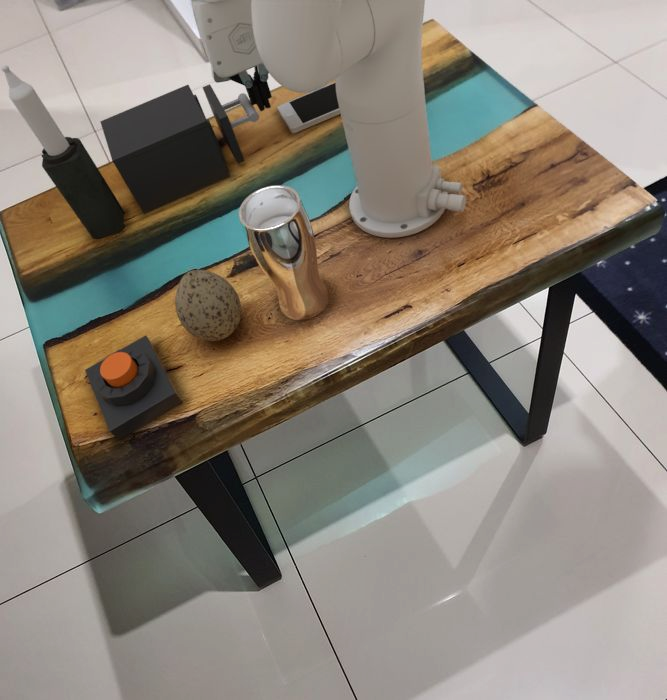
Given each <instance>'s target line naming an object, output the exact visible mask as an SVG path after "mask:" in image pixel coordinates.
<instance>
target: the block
mask: <svg viewBox="0 0 667 700" xmlns="http://www.w3.org/2000/svg"><path fill="white" fill-rule="evenodd" d="M117 352H124V353H127V354H128V355H129V356H130V357H131V358H132V359H133V361H134V362H135V363H136V364H137V366H138V373H137V376H136V377H135V378H134V380H133V381H132V382H131V383H129V384H127V385H126V386H124V387H120V388H115V387H112V386H111V385H109V383H108V382H107V381H106V380H105V379H104V378H103V377H102V375H101V373H100V367H101V365H102V363H103V361H104V360H105V359H106V358H107V357H108V356H110V355H112V354H114V353H117ZM84 371H85V374H86V376H87V379H88V382H89V385H90V387H91V389H92V391H93V393H94V397H95V399H96V401H97V404H98V406H99V409H100V411H101V414H102V417H103V418H104V419H103V420H104V421H105V424H106V425H107V428H108V431H109V432H110V433H111V435H112V436H114V437H115V438H116V439H117V440H118V441H121V440H123V439H124V438H126V437H127V436H130V435H131V434H133V433H134V432H136V431H138V430H139V429H141V428H143V427H144V426H146V425H148V424H149V423H152V422H153V421H154V420H156V419H158V418H160V417H162V416H163V415H164V414H166V413H167V412H170V411H172V410H173V409H174V408H176V407H179V406H180V405H182V404H183V403H184V402H183V399H182V397H181V396H180V394H179V392H178V390H177V388H176V386H175V384H174V382H173V380H172V378H171V377H170V374H169V372H168V370H167V368H166V367H165V365H164V363H163V361H162V359H161V357H160V354H159V353H158V351H157V349H156V347H155V345H154V344H153V342H152V341H151V339H150V338H149V337H148V335H144V336H142V337H140V338H139V339H137V340H135V341H132V342H131V343H129V344H128V345H126V346H124V347H122V348H120V349H118V350H116V351H114V352H112V353H111V354H109V355H107V356H106V357H104V358H103V359H101V360H100V361H97V362H96V363H94V364H92V365H91V366H89V367H88V368H86V369H85V370H84Z"/></svg>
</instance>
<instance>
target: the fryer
mask: <svg viewBox="0 0 667 700" xmlns="http://www.w3.org/2000/svg"><path fill="white" fill-rule="evenodd" d="M194 95H195V94H194V93H193V90H192V89H191V87H190V85H189V84H186V85H183V86H181V87H179V88H176V89H174V90H172V91H169V92H167V93H164V94H162V95H160V96H158V97H154V98H151V100H148V101H145V102H143V103H141V104H138V105H136V106H133V107H131V108H129V109H126V110H124V111H121V112H119V113H116V114H114V115H112V116H109V117H108V118H106V119H102V120H100V125H101V128H102V131H103V135H104V139H105V141H106V145H107V148H108V151H109V154H110V158H111V160H112V163H113V165H114V166H115V168H116V170H117V171H118V173H119V175H120V176H121V178H122V180H123V181H124V183H125V185H126V186H127V188H128V190H129V191H130V193H131V195H132V197H133V198H134V200H135V202H136V204H137V206H138V207H139V208H140V210H141V212H142V214H143V215H144V214H147V213H149V212H152V211H154V210H156V209H159V208H162V207H163V206H166V205H168V204H170V203H172V202H174V201H177V200H179V199H182V198H184V197H186V196H188V195H191V194H193V193H195V192H198V191H200V190H202V189H205V188H207V187H210V186H212V185H214V184H217V183H219V182H221V181H223V180H225V179H228V178H230V177H231V175H230V172H229V170H228V168H227V165H225V163H224V160H223V158H222V156H221V153H220V151H219V149H218V146H217V144H216V141H215V139H214V137H213V134H212V132H211V129H210V127H209V125H208V122H207V120H206V119H207V117H206V115H205V113H204V114H203V112H204V111H203V112H202V110H203V109H202V110H201V108H202V107H201V108H200V106H199V104H198V102H197V100H196V99H195V97H194ZM204 115H205V116H204ZM205 117H206V118H205Z"/></svg>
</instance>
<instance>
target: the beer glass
mask: <svg viewBox="0 0 667 700" xmlns="http://www.w3.org/2000/svg"><path fill="white" fill-rule="evenodd" d="M238 220H239V222H240V224H241V227H242V231H243V233H244V237H245V239H246V242H247V245H248V247H249V250H250V251H251V254H252V256H253V259H254V260H255V261H256V263H257V265H258V266H259V268H260V269H261V270H262V271H263V273H264V275H265V276H266V277H267V278H268V280H269V281H270V282H271V284H272V285H273V287H274V288H275V290H276V293H277V298H278V305H279V309H280V310H281V312H282V313H283V315H284V316H286V317H287V318H288V319H290V320H294V321H307V320H310V319H313V318H315V317H317V316H318V315H320V314H321V313H323V312H324V310H325V309H326V308H327V306H328V304H329V302H330V292H329V289H328V287H327V285H326V284H325V283H324V281H323V280H322V278H321V276H320V275H321V274H320V272H319V266H318V254H317V244H316V238H315V234H314V230H313V226H312V223H311V220H310V217H309V214H308V212H307V211H306V207H305V206H304V203H303V202H302V200H301V196H300V194H299V192H298V191H297V190H296V189H294V188H293V187H291V186H288V185H283V184H274V185H273V184H272V185H268V186H265V187H261V188H259V189H257V190H255V191H253V192H251V193H250V194H249V195H248V196H247V197H245V199H244V200H243V201H242V203H241V204H240V206H239V208H238Z"/></svg>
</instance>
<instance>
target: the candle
mask: <svg viewBox="0 0 667 700" xmlns="http://www.w3.org/2000/svg"><path fill="white" fill-rule="evenodd" d="M0 69H1V71H2V72H3V73H4V75H5V79H6V82H7V85H8V97H9V99H10V101H11V102H12V104H13V105H14V106H15V108H16V109H17V111H18V112H19V114H20V115H21V116H22V118H23V119H24V121H25V122H26V125H28V127H29V128H30V130H31V131H32V133H33V135H34V136H35V137H36V138H37V140H38V141H39V143H40V145H41V146H42V147H43V149H42V150H41V153H42V154H41V158H42V161H41V167H42V169H43V170H44V172H45V173H46V174H47V176H48V177H49V179H50V180H51V181H52V183H53V185H54V186H55V187H56V188H57V190H58V192H59V194H61V196H62V197H63V199H64V200H65V201H66V203H67V204H68V205H69V207H70V208H71V210H72V212H73V213H74V214H75V215H76V217H77V218H78V219H79V221H80V223H81V224H82V226H83V227H84V228H85V230H86V231H87V233H88V234H89V236H90V237H91V238H92V239H94V240H99V239H102V238H106V237H109V236H112V235H115V234H118V233H120V232H122V231H123V230H124V229H125V226H126V224H125V221H124V219H125V218H124V215H125V213H126V212H125V210H124V209H123V207H122V205H121V203H120V202H119V200H118V199H117V197H116V196H115V194H114V192H113V190H112V189H111V187H110V186H109V184H108V182H107V181H106V179H105V177H104V176H103V174H102V173H101V171H100V170H99V168H98V167H97V165H96V163H95V161H94V160H93V158H92V157H91V155H90V154H89V151H88V150H87V149H86V147H85V146H84V144H83V141H81V139H80V138H78V137H71V136H64V134H63V132H62V131H61V129H60V128H59V126H58V124H57V123H56V121H55V120H54V118H53V117H52V115H51V114H50V112H49V111H48V109H47V107H46V106H45V104H44V103H43V101H42V99H41V98H40V96H39V95H38V93H37V92H36V90H35V89H34V87H33V86H32V85H31V84H29V83H28V82H26V81H24V80H22V79H21V78H19V77H18V76H17V75H16V74H15V73H14V72H13V71H11V69H10V67H9V65H8V64H5V63H4V64H2V65H1V67H0Z"/></svg>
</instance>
